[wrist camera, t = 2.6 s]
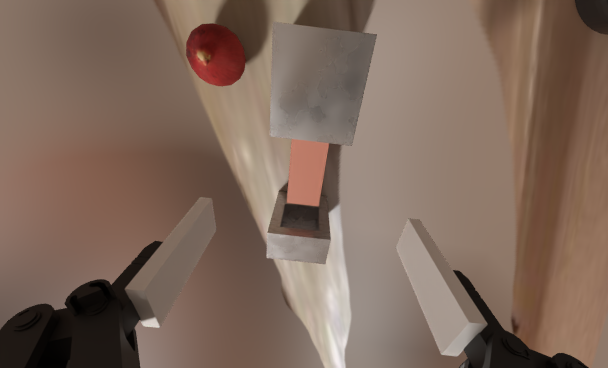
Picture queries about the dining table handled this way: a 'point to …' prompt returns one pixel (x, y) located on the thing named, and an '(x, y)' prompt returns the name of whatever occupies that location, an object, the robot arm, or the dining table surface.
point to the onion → (215, 54)
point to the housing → (318, 82)
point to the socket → (299, 231)
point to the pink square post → (306, 171)
